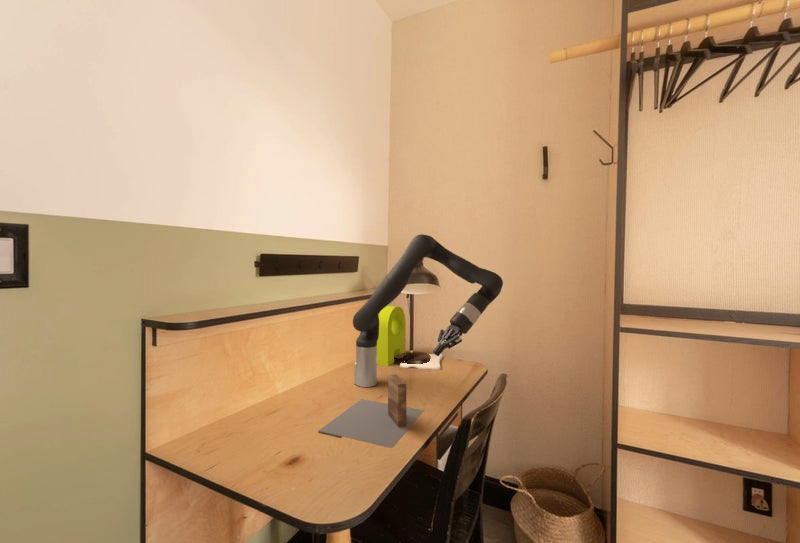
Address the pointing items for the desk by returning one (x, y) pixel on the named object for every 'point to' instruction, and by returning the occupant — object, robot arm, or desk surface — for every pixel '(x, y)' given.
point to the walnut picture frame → (397, 400)
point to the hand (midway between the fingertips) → (435, 354)
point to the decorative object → (390, 334)
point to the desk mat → (370, 423)
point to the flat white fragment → (432, 364)
